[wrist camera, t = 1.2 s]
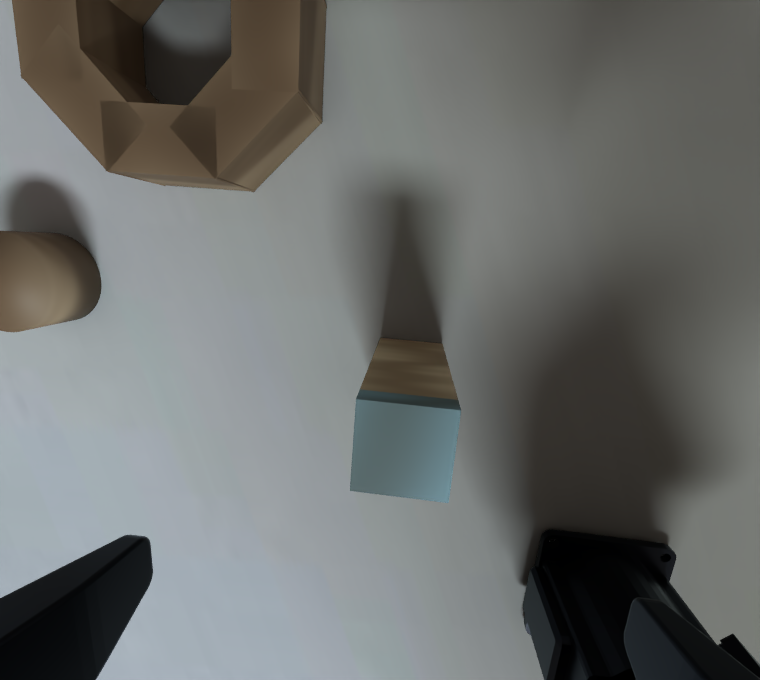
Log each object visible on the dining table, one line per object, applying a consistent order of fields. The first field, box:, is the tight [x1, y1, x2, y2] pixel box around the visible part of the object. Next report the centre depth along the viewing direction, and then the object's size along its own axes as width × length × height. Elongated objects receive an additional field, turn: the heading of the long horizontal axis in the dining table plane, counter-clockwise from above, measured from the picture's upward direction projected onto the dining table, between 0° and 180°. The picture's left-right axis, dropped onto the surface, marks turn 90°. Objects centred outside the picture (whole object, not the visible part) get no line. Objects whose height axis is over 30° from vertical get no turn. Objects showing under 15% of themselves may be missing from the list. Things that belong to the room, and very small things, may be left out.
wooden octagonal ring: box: [12, 0, 327, 192], centre depth 15 cm, size 10×10×4 cm
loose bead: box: [0, 231, 101, 332], centre depth 18 cm, size 4×4×3 cm
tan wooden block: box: [350, 338, 461, 503], centre depth 15 cm, size 3×3×8 cm
